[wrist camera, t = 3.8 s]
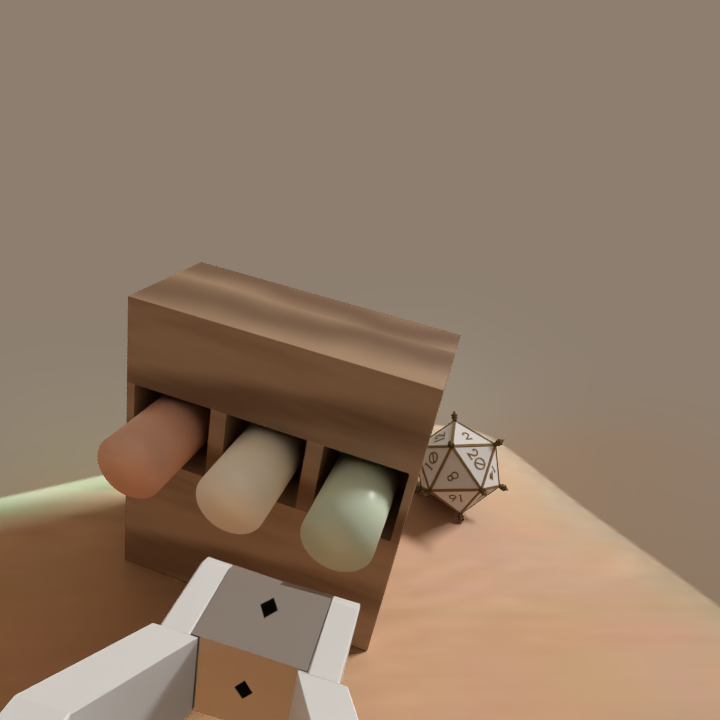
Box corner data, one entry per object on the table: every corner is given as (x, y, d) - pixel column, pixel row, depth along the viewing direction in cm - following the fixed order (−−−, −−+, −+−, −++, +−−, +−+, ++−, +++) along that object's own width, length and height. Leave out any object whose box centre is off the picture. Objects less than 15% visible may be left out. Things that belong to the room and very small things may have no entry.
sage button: (366, 582, 30) (382, 524, 28) (295, 556, 30) (306, 498, 29) (390, 511, 35) (405, 458, 33) (329, 490, 36) (341, 437, 34)
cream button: (260, 544, 31) (269, 485, 29) (193, 519, 31) (198, 461, 30) (300, 480, 36) (309, 427, 34) (242, 460, 37) (248, 408, 35)
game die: (455, 530, 55) (545, 483, 51) (414, 544, 48) (514, 491, 44) (414, 447, 59) (495, 397, 54) (370, 449, 51) (459, 392, 47)
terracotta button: (161, 508, 32) (163, 449, 30) (97, 485, 32) (96, 426, 31) (213, 451, 37) (218, 398, 35) (158, 432, 38) (160, 379, 36)
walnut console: (366, 650, 38) (443, 390, 29) (125, 558, 40) (128, 295, 32) (392, 565, 45) (460, 335, 36) (185, 492, 47) (201, 262, 39)
